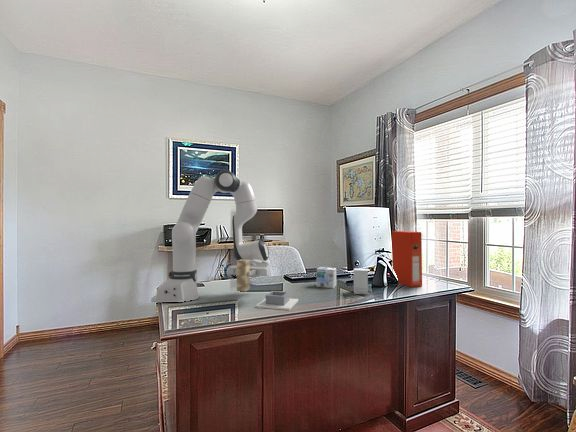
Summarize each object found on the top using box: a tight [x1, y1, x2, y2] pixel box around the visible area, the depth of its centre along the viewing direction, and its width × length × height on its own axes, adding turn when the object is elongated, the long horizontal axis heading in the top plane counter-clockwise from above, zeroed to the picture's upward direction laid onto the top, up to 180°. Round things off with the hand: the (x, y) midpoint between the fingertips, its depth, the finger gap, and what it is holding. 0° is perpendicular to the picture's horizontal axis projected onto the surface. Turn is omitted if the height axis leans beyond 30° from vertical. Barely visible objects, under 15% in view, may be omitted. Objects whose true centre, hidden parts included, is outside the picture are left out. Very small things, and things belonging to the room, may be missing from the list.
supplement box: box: [353, 267, 369, 295], centre depth 166 cm, size 7×7×13 cm
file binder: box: [391, 230, 423, 288], centre depth 187 cm, size 8×17×32 cm, turn 17°
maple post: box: [236, 259, 251, 293], centre depth 142 cm, size 4×4×14 cm
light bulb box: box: [315, 266, 337, 289], centre depth 181 cm, size 11×7×11 cm, turn 68°
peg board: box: [255, 290, 299, 311], centre depth 144 cm, size 16×16×5 cm
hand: (242, 273), depth 142 cm, fingers closed on maple post, 4 cm apart
